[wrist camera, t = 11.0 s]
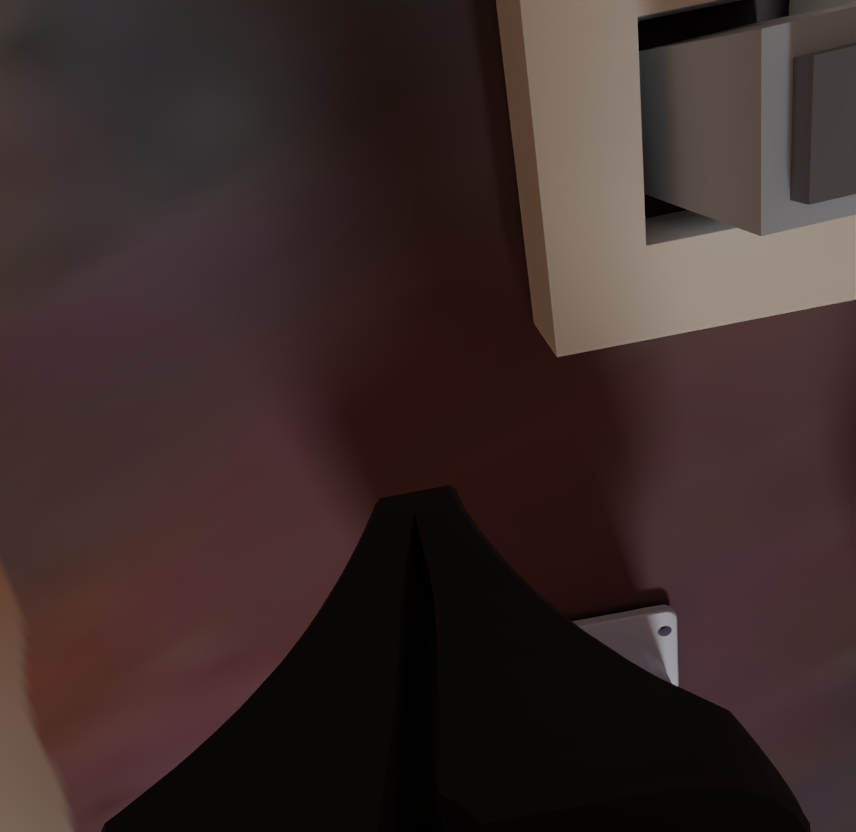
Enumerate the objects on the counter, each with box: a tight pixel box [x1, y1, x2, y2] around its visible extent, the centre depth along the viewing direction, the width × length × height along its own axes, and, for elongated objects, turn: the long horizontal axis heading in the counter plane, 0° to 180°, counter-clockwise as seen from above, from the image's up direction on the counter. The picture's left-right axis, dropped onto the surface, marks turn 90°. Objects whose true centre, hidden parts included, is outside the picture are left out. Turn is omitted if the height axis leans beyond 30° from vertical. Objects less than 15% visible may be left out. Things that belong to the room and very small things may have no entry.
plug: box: [639, 2, 856, 236], centre depth 15 cm, size 4×4×8 cm
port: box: [496, 0, 856, 357], centre depth 17 cm, size 10×10×3 cm
